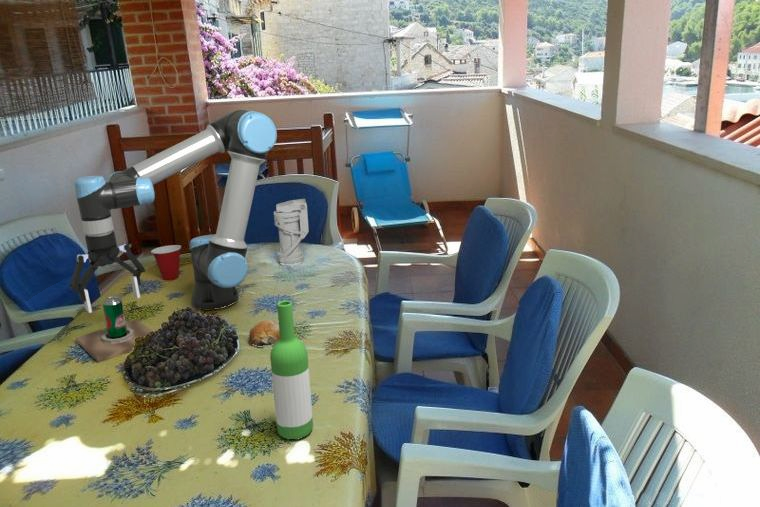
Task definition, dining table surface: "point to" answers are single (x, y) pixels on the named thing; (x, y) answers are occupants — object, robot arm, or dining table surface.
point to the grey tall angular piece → (291, 229)
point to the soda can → (114, 317)
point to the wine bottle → (290, 379)
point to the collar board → (112, 341)
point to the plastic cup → (168, 261)
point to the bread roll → (264, 333)
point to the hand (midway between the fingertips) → (113, 304)
